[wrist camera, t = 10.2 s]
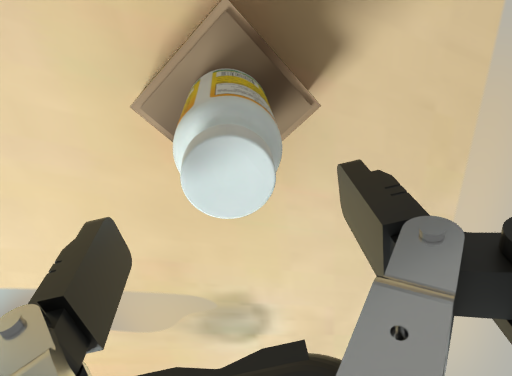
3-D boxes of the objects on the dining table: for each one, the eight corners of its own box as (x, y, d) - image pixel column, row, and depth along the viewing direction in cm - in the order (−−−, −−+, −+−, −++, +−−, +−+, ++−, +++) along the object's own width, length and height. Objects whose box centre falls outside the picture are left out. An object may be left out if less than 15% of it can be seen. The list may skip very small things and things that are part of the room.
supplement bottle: (246, 51, 20) (263, 93, 12) (279, 127, 23) (312, 202, 15) (169, 90, 21) (136, 153, 13) (210, 158, 24) (203, 248, 15)
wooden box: (308, 90, 26) (322, 107, 23) (228, 165, 29) (229, 190, 25) (224, -5, 22) (225, -4, 19) (142, 91, 25) (128, 108, 21)
